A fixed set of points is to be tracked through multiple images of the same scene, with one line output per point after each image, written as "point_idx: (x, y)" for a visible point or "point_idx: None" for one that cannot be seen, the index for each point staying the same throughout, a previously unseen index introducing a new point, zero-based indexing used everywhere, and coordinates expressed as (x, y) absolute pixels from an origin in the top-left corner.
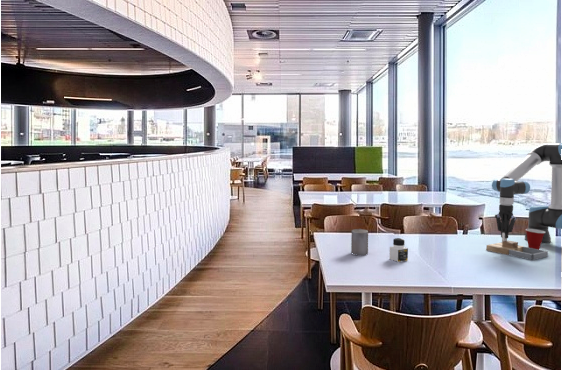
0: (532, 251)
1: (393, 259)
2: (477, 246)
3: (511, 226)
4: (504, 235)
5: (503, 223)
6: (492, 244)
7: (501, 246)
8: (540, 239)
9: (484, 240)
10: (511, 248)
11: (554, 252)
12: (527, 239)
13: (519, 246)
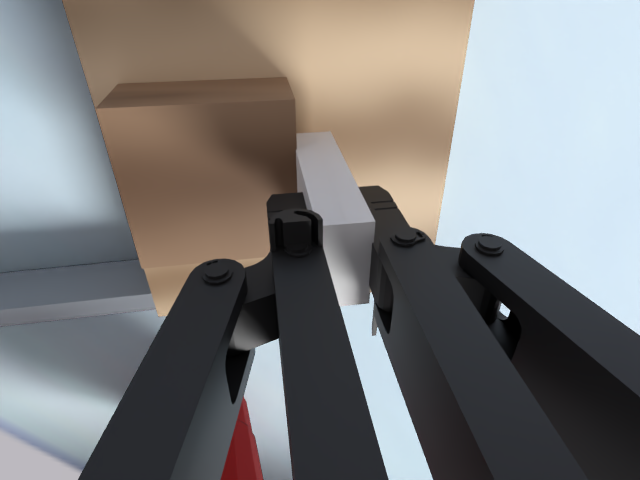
0: (34, 285)
1: None
2: (619, 23)
3: (118, 434)
4: (310, 199)
5: (464, 447)
6: (445, 63)
7: (289, 62)
8: None
9: (624, 313)
10: (116, 76)
11: (48, 443)
12: (235, 452)
13: (182, 276)
